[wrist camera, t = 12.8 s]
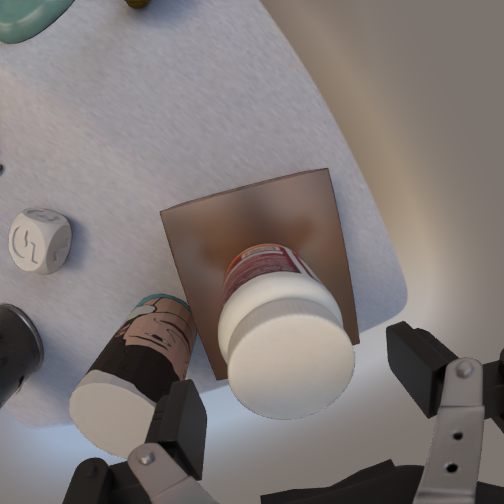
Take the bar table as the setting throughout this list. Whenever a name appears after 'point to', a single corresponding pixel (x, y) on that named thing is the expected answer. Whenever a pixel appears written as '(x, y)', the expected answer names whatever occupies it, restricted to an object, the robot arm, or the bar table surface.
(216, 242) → the shelf
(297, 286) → the pill bottle
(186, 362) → the cup
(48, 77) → the bar table surface
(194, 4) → the bar table surface
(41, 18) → the saucer
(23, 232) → the die
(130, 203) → the bar table surface
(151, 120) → the bar table surface
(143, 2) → the light bulb
